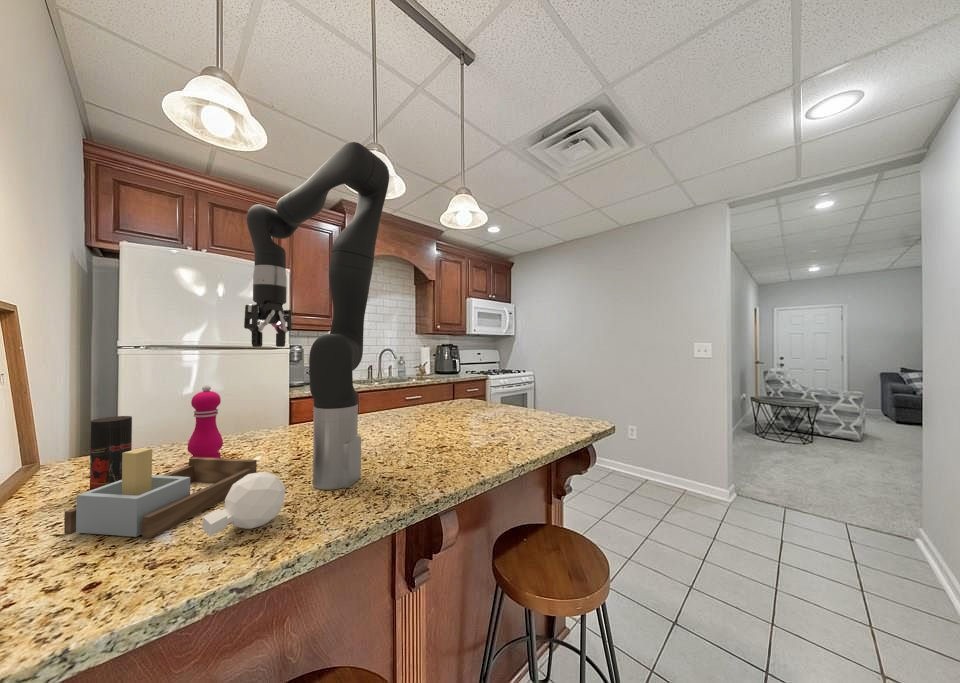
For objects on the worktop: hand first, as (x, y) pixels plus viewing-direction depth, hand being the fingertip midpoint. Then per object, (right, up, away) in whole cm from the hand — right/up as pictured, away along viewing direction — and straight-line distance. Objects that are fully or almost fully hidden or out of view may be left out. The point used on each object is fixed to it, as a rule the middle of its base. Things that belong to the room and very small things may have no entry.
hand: (269, 346), depth 90 cm
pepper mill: (-16, -30, 0) cm, 34 cm away
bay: (-4, -30, -24) cm, 39 cm away
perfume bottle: (+16, -30, -32) cm, 47 cm away
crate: (-4, -30, -30) cm, 43 cm away
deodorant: (-22, -30, -18) cm, 41 cm away
